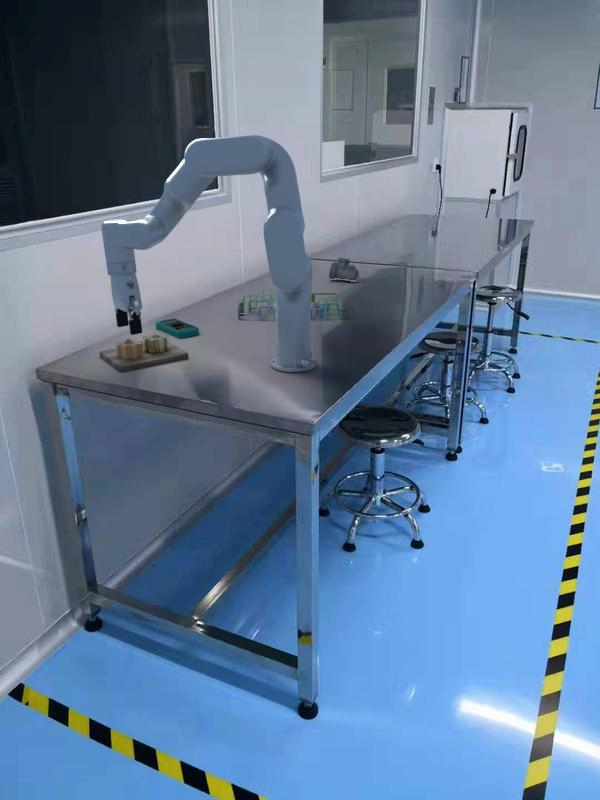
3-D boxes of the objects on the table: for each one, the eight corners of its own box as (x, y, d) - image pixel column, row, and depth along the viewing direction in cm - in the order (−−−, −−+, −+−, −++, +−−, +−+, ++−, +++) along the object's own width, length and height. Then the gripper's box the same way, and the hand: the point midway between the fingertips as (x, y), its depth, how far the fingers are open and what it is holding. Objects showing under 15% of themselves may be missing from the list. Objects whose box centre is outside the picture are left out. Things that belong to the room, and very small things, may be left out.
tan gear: (147, 355, 180) (146, 343, 179) (122, 360, 176) (121, 348, 175) (137, 349, 186) (136, 337, 184) (113, 354, 182) (111, 341, 180)
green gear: (173, 349, 184) (172, 337, 183) (149, 354, 181) (148, 342, 179) (163, 343, 190) (162, 331, 188) (139, 347, 186) (138, 335, 185)
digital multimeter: (180, 340, 200) (179, 331, 199) (155, 329, 211) (154, 320, 210) (200, 336, 205) (200, 326, 204) (175, 325, 216) (175, 316, 215)
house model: (238, 321, 220) (237, 308, 219) (243, 301, 248) (242, 288, 246) (340, 321, 221) (340, 307, 219) (333, 300, 248) (334, 288, 247)
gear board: (188, 358, 183) (187, 337, 181) (120, 372, 172) (118, 350, 170) (164, 344, 195) (163, 325, 193) (100, 356, 184) (97, 336, 182)
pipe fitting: (326, 281, 277) (330, 257, 274) (333, 279, 284) (337, 255, 281) (352, 287, 273) (356, 262, 269) (358, 284, 280) (362, 261, 276)
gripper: (147, 270, 167) (155, 334, 174) (123, 261, 180) (130, 321, 187) (119, 274, 163) (128, 339, 170) (96, 265, 176) (105, 325, 183)
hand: (129, 329), depth 178 cm, fingers open, 9 cm apart
